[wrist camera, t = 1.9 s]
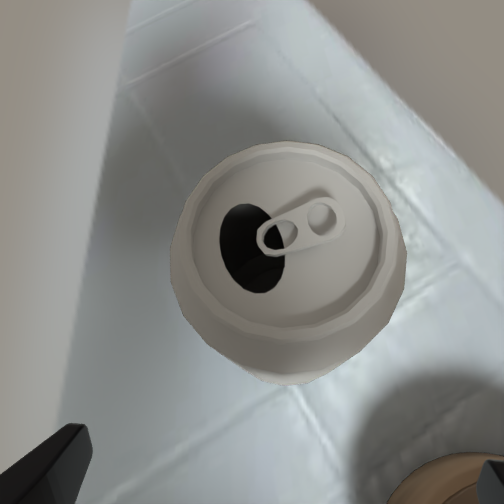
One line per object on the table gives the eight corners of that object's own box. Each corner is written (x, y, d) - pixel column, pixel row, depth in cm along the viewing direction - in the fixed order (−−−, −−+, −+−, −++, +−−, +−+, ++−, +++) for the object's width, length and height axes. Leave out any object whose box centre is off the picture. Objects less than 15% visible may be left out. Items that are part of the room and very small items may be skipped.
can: (208, 274, 23) (134, 155, 12) (327, 240, 23) (364, 91, 12) (238, 403, 20) (177, 406, 9) (373, 364, 20) (478, 320, 9)
